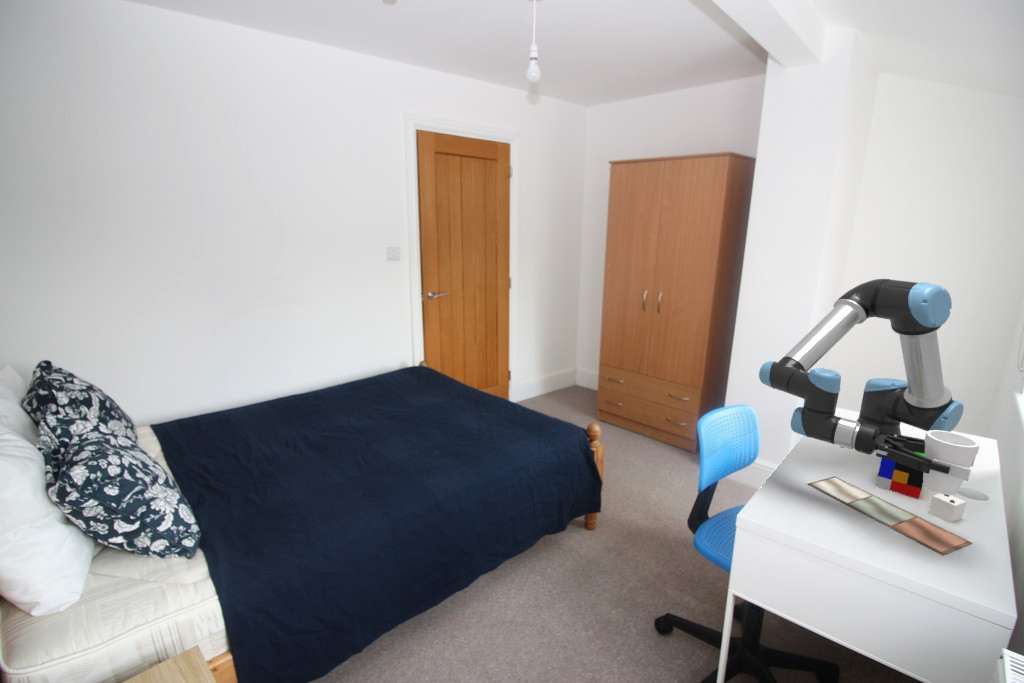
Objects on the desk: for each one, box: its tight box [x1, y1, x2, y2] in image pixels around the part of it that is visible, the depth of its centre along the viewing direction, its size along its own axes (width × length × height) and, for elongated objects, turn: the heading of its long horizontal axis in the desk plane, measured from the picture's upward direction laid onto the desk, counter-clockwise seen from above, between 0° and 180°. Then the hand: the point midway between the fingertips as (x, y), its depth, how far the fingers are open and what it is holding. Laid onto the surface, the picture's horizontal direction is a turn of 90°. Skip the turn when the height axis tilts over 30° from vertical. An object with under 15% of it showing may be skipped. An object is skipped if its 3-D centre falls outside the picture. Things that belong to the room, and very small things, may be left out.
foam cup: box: [922, 430, 981, 496], centre depth 117 cm, size 10×9×13 cm
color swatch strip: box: [807, 476, 973, 556], centre depth 131 cm, size 12×34×1 cm, turn 23°
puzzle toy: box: [875, 452, 925, 500], centre depth 143 cm, size 10×10×10 cm
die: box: [928, 493, 967, 523], centre depth 129 cm, size 5×5×6 cm
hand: (971, 467), depth 114 cm, fingers closed on foam cup, 9 cm apart
